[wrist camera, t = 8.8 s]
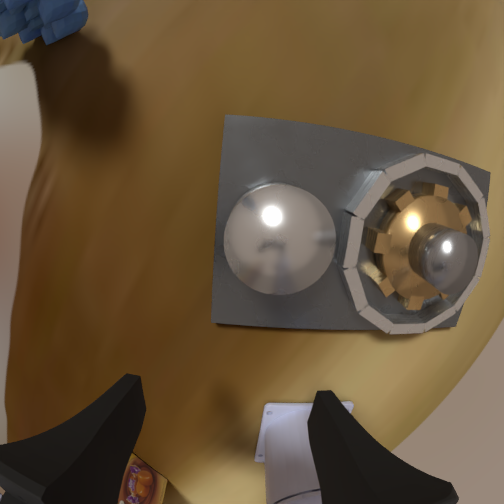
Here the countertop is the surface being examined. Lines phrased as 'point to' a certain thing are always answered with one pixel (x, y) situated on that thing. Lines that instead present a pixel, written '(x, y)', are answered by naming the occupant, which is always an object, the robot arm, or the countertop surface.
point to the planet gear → (422, 246)
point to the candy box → (141, 484)
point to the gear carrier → (324, 226)
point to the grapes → (41, 18)
